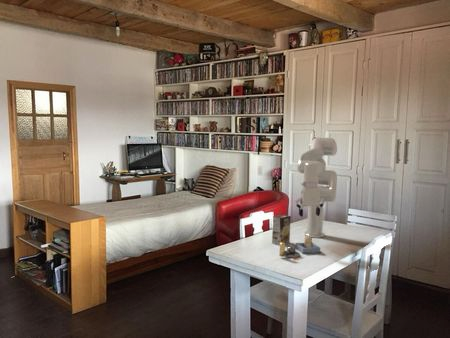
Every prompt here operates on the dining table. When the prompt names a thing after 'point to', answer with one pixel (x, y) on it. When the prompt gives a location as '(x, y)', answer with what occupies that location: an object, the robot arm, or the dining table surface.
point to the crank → (289, 249)
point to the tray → (307, 250)
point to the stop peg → (308, 242)
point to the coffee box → (281, 229)
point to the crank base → (293, 255)
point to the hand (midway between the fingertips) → (309, 215)
